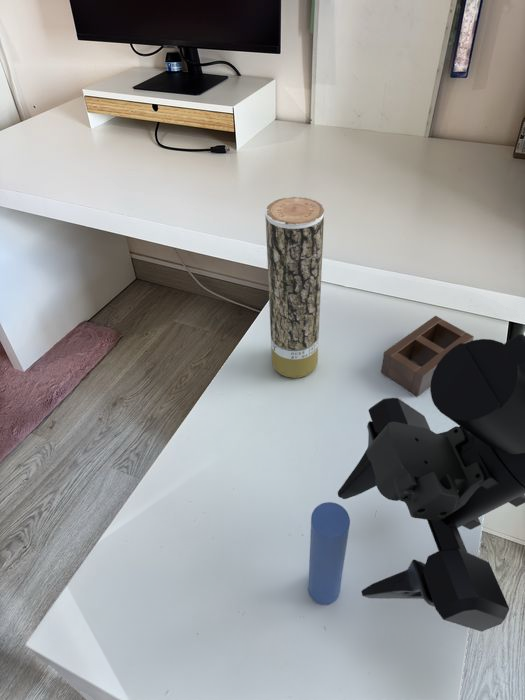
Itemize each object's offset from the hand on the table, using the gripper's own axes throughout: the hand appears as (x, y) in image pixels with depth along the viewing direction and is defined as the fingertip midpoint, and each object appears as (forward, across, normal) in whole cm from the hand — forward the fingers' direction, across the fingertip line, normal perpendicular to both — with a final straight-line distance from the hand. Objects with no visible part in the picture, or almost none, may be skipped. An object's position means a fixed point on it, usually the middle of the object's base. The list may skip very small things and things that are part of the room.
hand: (351, 541), depth 45 cm
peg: (+8, 0, +5) cm, 10 cm away
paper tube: (+7, -33, +7) cm, 34 cm away
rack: (-7, -30, +20) cm, 37 cm away
